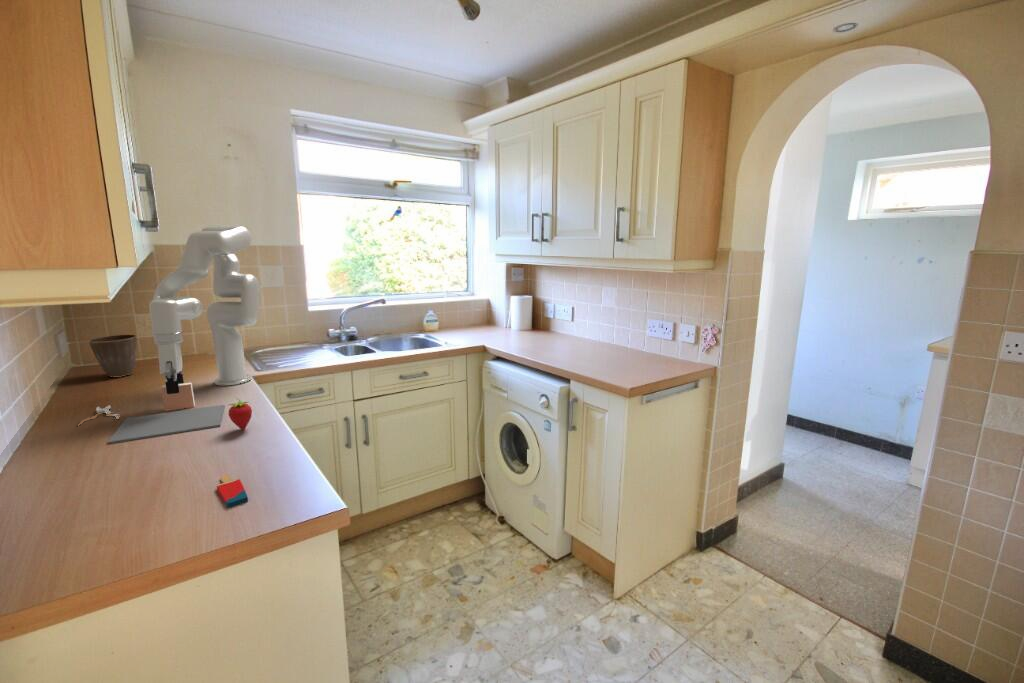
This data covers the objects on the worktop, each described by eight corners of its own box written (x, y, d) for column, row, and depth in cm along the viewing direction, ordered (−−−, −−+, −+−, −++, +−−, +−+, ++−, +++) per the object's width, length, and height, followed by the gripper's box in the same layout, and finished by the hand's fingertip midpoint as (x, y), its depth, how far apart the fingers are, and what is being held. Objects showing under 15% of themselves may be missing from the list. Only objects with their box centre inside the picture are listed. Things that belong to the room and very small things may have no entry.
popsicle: (235, 470, 109) (249, 496, 97) (236, 476, 109) (250, 502, 98) (212, 476, 106) (224, 504, 94) (213, 482, 106) (225, 510, 95)
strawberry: (231, 436, 130) (226, 402, 128) (230, 427, 137) (226, 395, 135) (254, 431, 133) (250, 399, 131) (253, 423, 140) (249, 391, 138)
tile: (166, 409, 153) (162, 385, 151) (195, 405, 156) (191, 382, 155) (164, 411, 150) (160, 387, 149) (194, 407, 154) (190, 384, 152)
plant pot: (95, 383, 181) (87, 343, 178) (97, 375, 193) (89, 337, 189) (143, 376, 191) (136, 338, 187) (142, 369, 202) (136, 333, 199)
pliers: (75, 423, 137) (83, 409, 149) (76, 428, 138) (84, 413, 150) (118, 416, 143) (122, 402, 155) (119, 421, 143) (123, 407, 155)
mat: (126, 419, 143) (126, 418, 143) (224, 406, 155) (224, 404, 155) (108, 444, 126) (107, 442, 126) (220, 426, 138) (219, 424, 137)
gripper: (159, 335, 154) (166, 384, 157) (148, 343, 139) (156, 398, 142) (186, 333, 157) (193, 381, 161) (178, 341, 142) (185, 394, 146)
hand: (175, 389), depth 151 cm, fingers open, 9 cm apart
